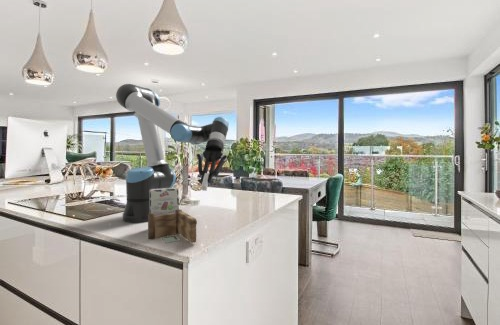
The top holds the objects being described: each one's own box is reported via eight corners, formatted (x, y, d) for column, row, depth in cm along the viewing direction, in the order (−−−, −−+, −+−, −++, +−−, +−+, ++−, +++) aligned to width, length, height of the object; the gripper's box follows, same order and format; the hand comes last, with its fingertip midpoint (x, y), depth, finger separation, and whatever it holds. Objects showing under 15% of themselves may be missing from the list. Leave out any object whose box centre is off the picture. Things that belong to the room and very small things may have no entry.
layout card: (161, 238, 102) (161, 236, 102) (175, 236, 104) (175, 234, 104) (165, 243, 96) (165, 241, 96) (179, 240, 99) (179, 239, 99)
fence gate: (177, 232, 106) (177, 211, 106) (182, 231, 107) (182, 211, 107) (191, 243, 94) (191, 219, 94) (196, 242, 95) (196, 218, 95)
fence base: (180, 232, 109) (180, 209, 109) (182, 233, 108) (182, 210, 107) (147, 238, 101) (147, 213, 101) (149, 240, 99) (149, 214, 99)
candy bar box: (177, 225, 118) (177, 187, 118) (179, 228, 114) (179, 188, 113) (149, 228, 114) (148, 188, 113) (150, 231, 109) (149, 190, 109)
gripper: (231, 151, 124) (222, 195, 109) (202, 150, 125) (189, 193, 110) (229, 139, 119) (219, 183, 103) (199, 138, 120) (184, 181, 104)
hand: (203, 188), depth 106 cm, fingers closed
